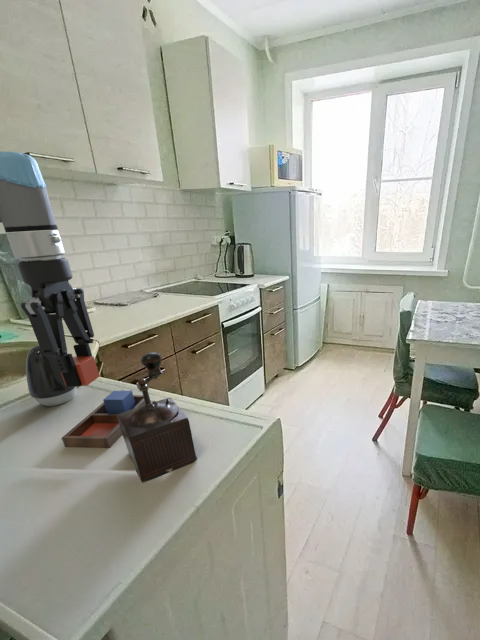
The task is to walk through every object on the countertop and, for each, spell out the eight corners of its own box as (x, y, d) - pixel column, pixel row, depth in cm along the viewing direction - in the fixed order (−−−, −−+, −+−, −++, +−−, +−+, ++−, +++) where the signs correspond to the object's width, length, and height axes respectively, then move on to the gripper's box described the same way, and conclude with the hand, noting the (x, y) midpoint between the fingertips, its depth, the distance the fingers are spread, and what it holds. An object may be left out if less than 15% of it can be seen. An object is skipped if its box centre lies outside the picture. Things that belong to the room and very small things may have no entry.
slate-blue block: (108, 417, 81) (103, 399, 79) (118, 407, 85) (113, 390, 83) (126, 417, 80) (122, 399, 78) (136, 407, 84) (132, 390, 82)
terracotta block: (65, 386, 70) (58, 365, 68) (79, 376, 74) (72, 356, 72) (86, 385, 69) (79, 364, 67) (99, 376, 73) (93, 356, 71)
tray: (65, 449, 71) (61, 437, 70) (114, 405, 88) (111, 395, 86) (110, 450, 70) (106, 438, 69) (151, 405, 86) (149, 395, 85)
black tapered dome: (84, 389, 97) (67, 336, 90) (77, 406, 88) (56, 348, 81) (42, 396, 94) (21, 342, 87) (30, 414, 85) (5, 355, 78)
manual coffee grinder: (201, 459, 66) (185, 371, 58) (141, 484, 61) (113, 390, 53) (174, 424, 78) (158, 347, 70) (121, 442, 72) (97, 361, 64)
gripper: (23, 264, 53) (72, 400, 63) (91, 252, 69) (122, 363, 79) (-22, 266, 54) (33, 400, 64) (56, 254, 69) (90, 363, 80)
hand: (82, 379), depth 71 cm, fingers closed on terracotta block, 4 cm apart
